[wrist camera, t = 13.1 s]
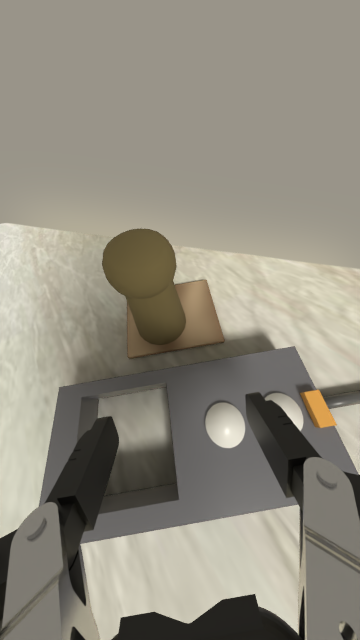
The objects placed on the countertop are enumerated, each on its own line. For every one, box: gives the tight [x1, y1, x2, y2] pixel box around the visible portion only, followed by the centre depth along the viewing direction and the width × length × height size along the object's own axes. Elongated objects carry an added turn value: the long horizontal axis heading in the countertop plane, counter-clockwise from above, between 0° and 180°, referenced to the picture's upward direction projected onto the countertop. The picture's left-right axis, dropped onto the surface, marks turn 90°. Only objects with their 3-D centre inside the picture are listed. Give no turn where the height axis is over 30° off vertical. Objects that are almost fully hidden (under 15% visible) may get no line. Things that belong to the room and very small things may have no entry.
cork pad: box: [127, 280, 225, 359], centre depth 21 cm, size 11×9×1 cm
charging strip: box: [39, 346, 360, 544], centre depth 14 cm, size 29×10×4 cm, turn 99°
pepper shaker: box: [102, 229, 186, 345], centre depth 16 cm, size 6×6×11 cm
